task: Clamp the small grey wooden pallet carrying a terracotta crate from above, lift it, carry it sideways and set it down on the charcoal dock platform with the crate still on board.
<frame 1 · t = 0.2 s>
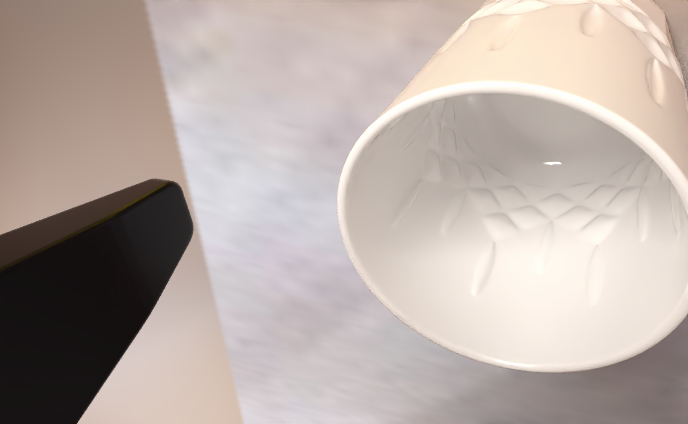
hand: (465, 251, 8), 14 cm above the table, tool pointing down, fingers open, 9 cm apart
white cup: (562, 64, 21), on the table
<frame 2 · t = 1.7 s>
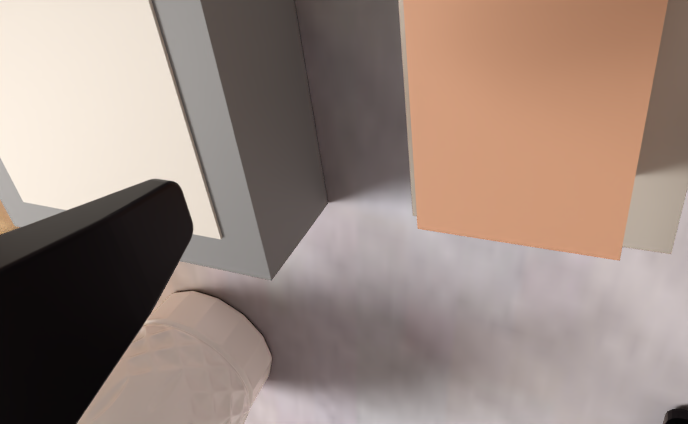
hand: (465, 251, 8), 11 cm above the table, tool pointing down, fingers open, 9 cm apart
crate: (545, 44, 13), point 4 cm above the table, touching pallet
white cup: (219, 334, 32), on the table
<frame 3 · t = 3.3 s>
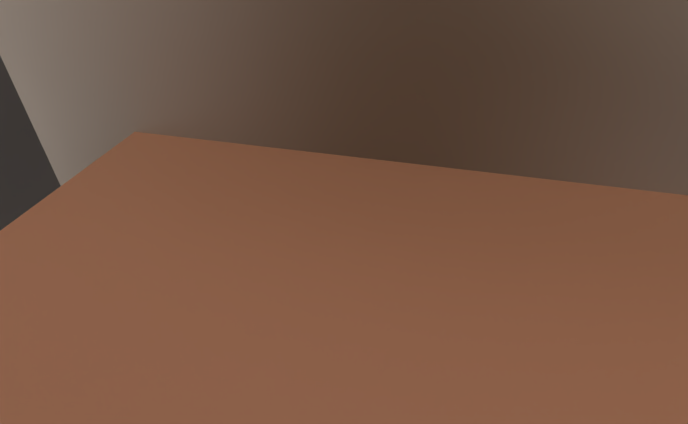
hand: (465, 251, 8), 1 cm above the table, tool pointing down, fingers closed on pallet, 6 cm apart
pallet: (487, 197, 9), on the table, touching crate, gripper
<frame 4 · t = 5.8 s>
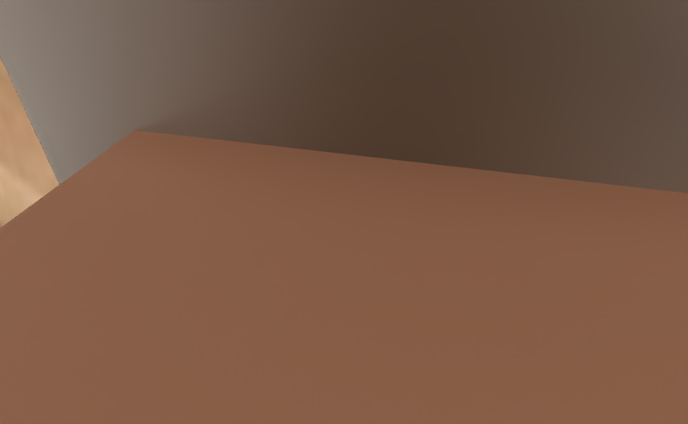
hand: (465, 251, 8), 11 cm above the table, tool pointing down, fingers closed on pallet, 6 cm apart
pallet: (488, 197, 9), point 10 cm above the table, touching crate, gripper
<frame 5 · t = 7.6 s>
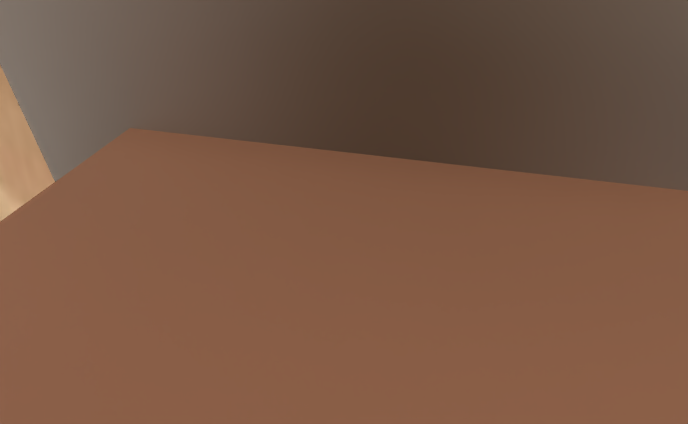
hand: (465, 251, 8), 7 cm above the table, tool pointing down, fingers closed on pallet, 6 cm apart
pallet: (486, 195, 9), point 6 cm above the table, touching crate, gripper
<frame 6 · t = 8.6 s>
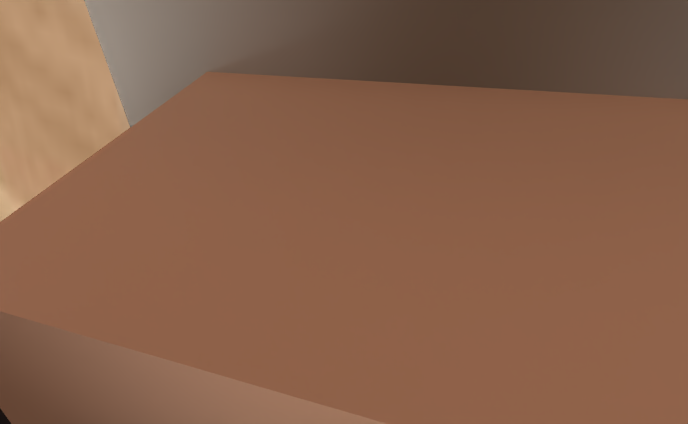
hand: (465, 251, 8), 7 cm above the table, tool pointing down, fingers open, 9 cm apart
pallet: (504, 159, 9), point 5 cm above the table, touching crate, dock
crate: (430, 342, 7), point 9 cm above the table, touching pallet
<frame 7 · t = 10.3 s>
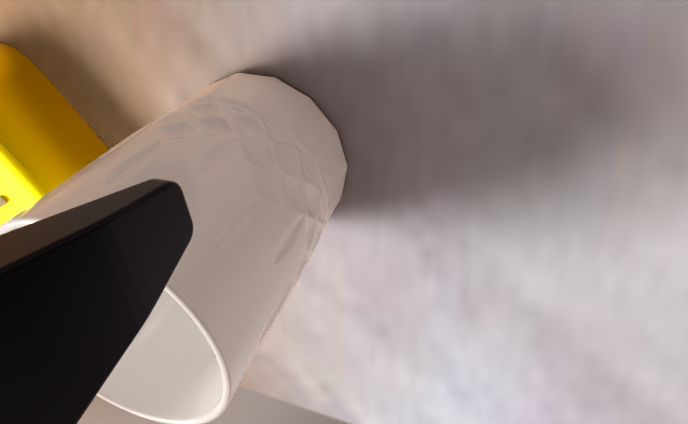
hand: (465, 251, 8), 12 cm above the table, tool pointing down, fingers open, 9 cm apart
white cup: (272, 148, 24), on the table
element tile: (58, 205, 33), on the table
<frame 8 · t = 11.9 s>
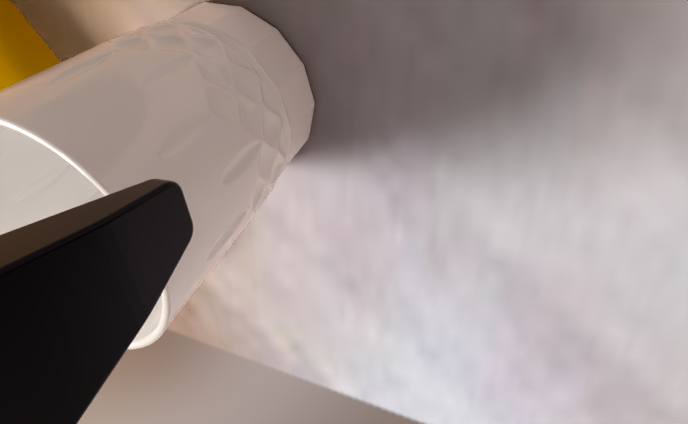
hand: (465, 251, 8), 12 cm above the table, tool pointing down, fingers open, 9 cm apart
white cup: (240, 85, 24), on the table
element tile: (34, 152, 32), on the table
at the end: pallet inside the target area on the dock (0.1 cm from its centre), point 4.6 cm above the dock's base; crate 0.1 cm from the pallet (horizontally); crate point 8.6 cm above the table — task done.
